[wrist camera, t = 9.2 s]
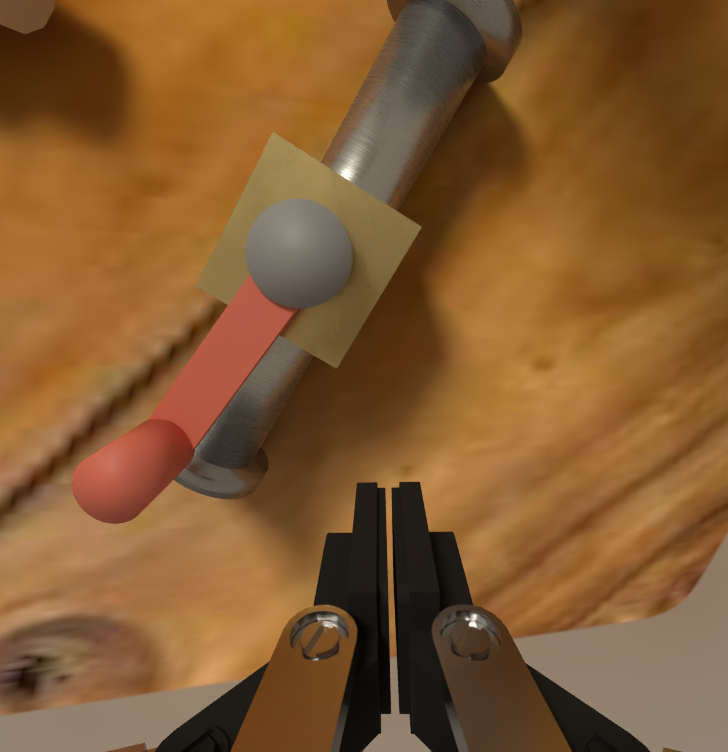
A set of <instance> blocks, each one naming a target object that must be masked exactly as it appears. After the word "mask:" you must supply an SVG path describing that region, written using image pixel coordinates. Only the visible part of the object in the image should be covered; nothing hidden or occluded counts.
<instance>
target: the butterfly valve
mask: <svg viewBox="0 0 728 752" xmlns="http://www.w3.org/2000/svg"><path fill="white" fill-rule="evenodd" d="M55 4H56V0H0V25H2V26H5V27H7V28H10V29H12V30H15V31H18V32H20V33H23V34H27V33H30V32H33V31H36V30H39V29H41V28H44V27H45V25H46V23H47V21H48V19H49V18H50V16H51V14H52V12H53V11H54V9H55Z"/></svg>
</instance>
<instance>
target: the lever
mask: <svg viewBox="0 0 728 752" xmlns="http://www.w3.org/2000/svg"><path fill="white" fill-rule="evenodd" d="M246 262H247V266H248V270H249V273H250V275H249V276H248V277H247V279H246V280H245V282H244V283H243V285H242V286H241V287H240V289H239V290H238V292H237V293H236V295H235V296H234V298H233V299H232V300H231V302H230V303H229V305H228V306H227V308H226V309H225V310H224V312H223V313H222V315H221V316H220V318H219V319H218V320H217V322H216V323H215V325H214V326H213V328H212V329H211V331H210V332H209V333H208V335H207V336H206V338H205V339H204V341H203V342H202V343H201V345H200V346H199V348H198V349H197V351H196V352H195V354H194V355H193V356H192V358H191V359H190V361H189V362H188V364H187V365H186V366H185V368H184V369H183V371H182V372H181V374H180V375H179V376H178V378H177V379H176V381H175V382H174V384H173V385H172V387H171V388H170V389H169V391H168V392H167V394H166V395H165V397H164V398H163V399H162V401H161V402H160V404H159V405H158V407H157V408H156V410H155V411H154V412H153V414H152V415H151V417H150V418H149V419H148V420H147V421H145V422H144V423H142V424H140V425H139V426H137V427H136V428H134V429H132V430H131V431H129V432H128V433H126V434H124V435H123V436H121V437H120V438H118V439H117V440H115V441H113V442H112V443H110V444H109V445H107V446H105V447H104V448H102V449H101V450H99V451H97V452H96V453H94V454H93V455H91V456H89V457H88V458H86V459H85V460H83V461H82V462H81V463H80V464H79V465H78V466H77V468H76V470H75V472H74V474H73V478H72V490H73V494H74V497H75V499H76V501H77V503H78V504H79V505H80V507H81V508H82V509H83V510H84V511H85V512H86V513H87V514H89V515H90V516H91V517H93V518H95V519H97V520H99V521H102V522H106V523H113V524H117V523H124V522H127V521H130V520H132V519H134V518H135V517H136V516H138V515H139V514H140V513H141V512H142V511H143V510H144V509H145V508H146V507H147V506H148V505H149V504H150V503H151V502H152V501H153V500H154V499H155V498H156V497H157V496H158V495H159V494H160V493H161V492H162V491H163V490H164V489H165V488H166V487H167V486H168V485H169V484H170V483H171V482H172V481H173V480H174V479H175V478H176V477H177V476H178V475H179V474H180V473H181V472H182V471H183V470H184V469H185V468H186V467H187V466H188V465H189V463H190V462H191V461H192V459H193V457H194V454H195V449H196V448H197V446H198V445H199V444H200V442H201V441H202V440H203V438H204V437H205V436H206V434H207V433H208V431H209V430H210V429H211V427H212V426H213V425H214V423H215V422H216V421H217V419H218V418H219V417H220V415H221V414H222V412H223V411H224V410H225V408H226V407H227V406H228V404H229V403H230V402H231V400H232V399H233V398H234V396H235V395H236V393H237V392H238V391H239V389H240V388H241V387H242V385H243V384H244V383H245V381H246V380H247V378H248V377H249V376H250V374H251V373H252V372H253V370H254V369H255V368H256V366H257V365H258V364H259V362H260V361H261V359H262V358H263V357H264V355H265V354H266V353H267V351H268V350H269V349H270V347H271V346H272V345H273V343H274V342H275V340H276V339H277V338H278V336H279V335H280V334H281V332H282V331H283V330H284V328H285V327H286V326H287V324H288V323H289V321H290V320H291V319H292V317H293V316H294V315H295V313H296V312H297V311H298V309H302V308H310V307H314V306H317V305H320V304H322V303H324V302H326V301H328V300H330V299H331V298H333V297H334V296H335V295H336V294H337V293H339V291H340V290H341V289H342V288H343V287H344V285H345V284H346V282H347V280H348V278H349V276H350V273H351V269H352V264H353V249H352V244H351V240H350V237H349V235H348V233H347V231H346V229H345V228H344V226H343V224H342V223H341V221H340V220H339V219H338V218H337V217H336V215H335V214H333V213H332V212H331V211H330V210H329V209H327V208H326V207H325V206H323V205H321V204H319V203H317V202H314V201H311V200H307V199H298V198H296V199H287V200H283V201H280V202H277V203H275V204H273V205H271V206H270V207H268V208H267V209H265V210H264V211H263V212H262V213H261V214H260V215H259V216H258V217H257V219H256V220H255V221H254V223H253V225H252V227H251V229H250V231H249V234H248V237H247V242H246Z"/></svg>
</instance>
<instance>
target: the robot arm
mask: <svg viewBox="0 0 728 752" xmlns="http://www.w3.org/2000/svg"><path fill="white" fill-rule="evenodd" d="M392 532H393V579H394V603H395V625H396V647H397V669H398V692H399V711H400V714H410V727H411V734H415V735H416V736H417V737H418V738H419V739H420V740H421V741H422V742H423V743H424V744H425V745H426V746H427V747H428V748H429V749H430V750H431V752H650V751H649V750H648V749H647V747H646V746H645V745H643V744H642V743H641V742H640V741H639V740H637V739H636V738H635V737H634V736H632V735H631V734H630V733H628V732H627V731H625V730H624V729H623V728H621V727H619V726H618V725H617V724H615V723H614V722H612V721H611V720H609V719H608V718H606V717H605V716H603V715H602V714H600V713H599V712H597V711H596V710H594V709H593V708H591V707H590V706H588V705H587V704H585V703H584V702H582V701H581V700H579V699H578V698H576V697H575V696H574V695H572V694H571V693H569V692H567V691H566V690H564V689H563V688H562V687H560V686H559V685H557V684H556V683H554V682H553V681H551V680H550V679H548V678H547V677H545V676H544V675H542V674H541V673H539V672H538V671H536V670H535V669H533V668H532V667H530V666H529V665H528V664H526V663H525V662H524V660H523V658H522V656H521V654H520V652H519V650H518V648H517V646H516V645H515V643H514V641H513V639H512V637H511V635H510V633H509V631H508V629H507V628H506V627H505V625H504V624H503V622H502V621H501V620H500V619H499V618H498V617H496V616H495V615H494V614H493V613H491V612H489V611H487V610H485V609H483V608H481V607H477V606H473V602H472V599H471V595H470V591H469V588H468V584H467V580H466V576H465V573H464V569H463V565H462V562H461V558H460V554H459V550H458V547H457V543H456V539H455V536H454V533H453V532H429V530H428V525H427V519H426V513H425V508H424V502H423V497H422V491H421V486H420V482H399V488H392ZM381 714H391V692H390V650H389V609H388V570H387V535H386V499H385V488H377V482H374V483H357V489H356V500H355V510H354V521H353V531H352V533H328V534H327V536H326V541H325V546H324V552H323V557H322V562H321V568H320V573H319V579H318V584H317V590H316V595H315V600H314V606H313V607H309V608H306V609H304V610H302V611H300V612H299V613H297V614H296V615H295V616H294V617H292V618H291V619H290V620H289V622H288V623H287V625H286V626H285V628H284V629H283V632H282V634H281V636H280V639H279V641H278V643H277V646H276V648H275V650H274V652H273V655H272V657H271V659H270V661H269V662H268V663H267V664H265V665H264V666H263V667H261V668H260V669H258V670H257V671H256V672H254V673H253V674H252V675H250V676H249V677H247V678H246V679H245V680H243V681H242V682H241V683H239V684H238V685H236V686H235V687H234V688H232V689H231V690H229V691H228V692H227V693H225V694H224V695H223V696H221V697H220V698H219V699H217V700H216V701H214V702H213V703H212V704H210V705H209V706H207V707H206V708H205V709H203V710H202V711H201V712H199V713H198V714H197V715H195V716H194V717H192V718H191V719H190V720H188V721H187V722H185V723H184V724H183V725H181V726H180V727H179V728H177V729H176V730H175V731H173V732H172V733H171V734H170V735H169V736H168V737H167V738H166V739H164V740H163V741H162V742H161V744H160V745H159V746H158V748H153V749H149V750H147V749H146V745H145V743H142V744H138V745H133V746H129V747H125V748H120V749H116V750H112V751H108V752H363V750H364V749H365V748H366V746H367V745H368V744H369V743H370V742H371V741H372V740H373V739H374V738H375V737H376V736H377V735H378V734H380V733H381ZM663 752H681V751H676V750H672V749H668V748H663Z"/></svg>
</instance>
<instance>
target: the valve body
mask: <svg viewBox="0 0 728 752" xmlns="http://www.w3.org/2000/svg"><path fill="white" fill-rule="evenodd" d="M387 3H388V7H389V10H390V13H391V15H392V17H393V20H394V21H395V24H394V26H393V27H392V29H391V31H390V33H389V35H388V37H387V39H386V41H385V43H384V44H383V46H382V48H381V50H380V52H379V54H378V56H377V58H376V60H375V61H374V63H373V65H372V67H371V69H370V71H369V73H368V75H367V77H366V78H365V80H364V82H363V84H362V86H361V88H360V90H359V92H358V94H357V95H356V97H355V99H354V101H353V103H352V105H351V107H350V109H349V111H348V112H347V114H346V116H345V118H344V120H343V122H342V124H341V126H340V128H339V129H338V131H337V133H336V135H335V137H334V139H333V141H332V143H331V145H330V146H329V148H328V150H327V152H326V154H325V156H324V158H323V160H322V162H319V161H317V160H316V159H314V158H313V157H311V156H310V155H308V154H306V153H305V152H303V151H302V150H300V149H299V148H297V147H295V146H294V145H292V144H291V143H289V142H288V141H286V140H284V139H283V138H281V137H280V136H278V135H277V134H275V133H272V135H271V137H270V139H269V141H268V143H267V145H266V147H265V149H264V151H263V153H262V155H261V157H260V159H259V161H258V163H257V165H256V167H255V169H254V171H253V173H252V175H251V177H250V179H249V181H248V183H247V185H246V187H245V189H244V191H243V193H242V195H241V197H240V199H239V201H238V203H237V205H236V207H235V209H234V211H233V213H232V215H231V217H230V219H229V221H228V223H227V225H226V227H225V229H224V231H223V233H222V235H221V237H220V239H219V241H218V243H217V245H216V247H215V249H214V251H213V253H212V255H211V257H210V259H209V261H208V263H207V265H206V267H205V269H204V271H203V273H202V275H201V277H200V279H199V282H198V284H197V286H196V287H198V288H200V289H201V290H203V291H205V292H207V293H208V294H210V295H212V296H213V297H215V298H217V299H218V300H220V301H222V302H224V303H225V304H227V305H229V303H230V302H231V300H232V299H233V298H234V296H235V295H236V293H237V292H238V290H239V289H240V287H241V286H242V285H243V283H244V282H245V280H246V279H247V277H248V276H249V275H250V273H249V270H248V266H247V262H246V242H247V237H248V234H249V231H250V229H251V227H252V225H253V223H254V221H255V220H256V219H257V217H258V216H259V215H260V214H261V213H262V212H263V211H264V210H265V209H267V208H268V207H270V206H271V205H273V204H275V203H277V202H280V201H283V200H287V199H296V198H298V199H307V200H311V201H314V202H317V203H319V204H321V205H323V206H325V207H326V208H327V209H329V210H330V211H331V212H332V213H333V214H335V215H336V217H337V218H338V219H339V220H340V221H341V223H342V224H343V226H344V228H345V229H346V231H347V233H348V235H349V237H350V240H351V244H352V249H353V264H352V269H351V273H350V276H349V278H348V280H347V282H346V284H345V285H344V287H343V288H342V289H341V290H340V291H339V293H337V294H336V295H335V296H334V297H333V298H331V299H330V300H328V301H326V302H324V303H322V304H320V305H317V306H314V307H310V308H302V309H298V311H297V312H296V313H295V315H294V316H293V317H292V319H291V320H290V321H289V323H288V324H287V326H286V327H285V328H284V330H283V331H282V332H281V334H280V335H279V336H278V338H277V339H276V340H275V342H274V343H273V345H272V346H271V347H270V349H269V350H268V351H267V353H266V354H265V355H264V357H263V358H262V359H261V361H260V362H259V364H258V365H257V366H256V368H255V369H254V370H253V372H252V373H251V374H250V376H249V377H248V378H247V380H246V381H245V383H244V384H243V385H242V387H241V388H240V389H239V391H238V392H237V393H236V395H235V396H234V398H233V399H232V400H231V402H230V403H229V404H228V406H227V407H226V408H225V410H224V411H223V412H222V414H221V415H220V417H219V418H218V419H217V421H216V422H215V423H214V425H213V426H212V427H211V429H210V430H209V431H208V433H207V434H206V436H205V437H204V438H203V440H202V441H201V442H200V444H199V445H198V446H197V448H196V449H195V454H194V457H193V459H192V461H191V462H190V463H189V465H188V466H187V467H186V468H185V469H184V470H183V471H182V472H181V473H180V474H179V475H178V476H177V477H176V478H175V479H174V480H175V481H176V482H178V483H179V484H181V485H183V486H184V487H186V488H188V489H190V490H192V491H195V492H197V493H200V494H203V495H206V496H210V497H215V498H221V499H238V498H243V497H246V496H248V495H250V494H252V493H253V492H254V491H255V490H256V488H257V487H258V485H259V484H260V482H261V480H262V479H263V477H264V475H265V473H266V472H267V469H268V465H269V464H268V459H267V456H266V454H265V452H264V450H263V449H262V447H261V446H262V444H263V442H264V441H265V439H266V437H267V435H268V434H269V432H270V430H271V429H272V427H273V425H274V423H275V422H276V420H277V418H278V416H279V415H280V413H281V411H282V410H283V408H284V406H285V404H286V403H287V401H288V399H289V398H290V396H291V394H292V392H293V391H294V389H295V387H296V386H297V384H298V382H299V380H300V379H301V377H302V375H303V374H304V372H305V370H306V368H307V367H308V365H309V363H310V361H311V360H312V358H313V356H315V357H317V358H319V359H320V360H322V361H324V362H326V363H327V364H329V365H331V366H332V367H334V368H336V369H337V368H338V366H339V364H340V363H341V361H342V359H343V358H344V356H345V354H346V353H347V351H348V349H349V348H350V346H351V344H352V343H353V341H354V339H355V338H356V336H357V334H358V333H359V331H360V329H361V328H362V326H363V324H364V323H365V321H366V319H367V318H368V316H369V314H370V313H371V311H372V309H373V308H374V306H375V304H376V303H377V301H378V299H379V298H380V296H381V294H382V293H383V291H384V289H385V288H386V286H387V284H388V283H389V281H390V279H391V278H392V276H393V274H394V273H395V271H396V269H397V268H398V266H399V264H400V263H401V261H402V259H403V258H404V256H405V254H406V253H407V251H408V249H409V248H410V246H411V244H412V243H413V241H414V239H415V238H416V236H417V234H418V233H419V231H420V229H421V226H420V225H418V224H417V223H415V222H413V221H412V220H410V219H409V218H407V217H406V216H404V215H402V214H401V213H399V212H398V210H399V209H400V207H401V205H402V203H403V202H404V200H405V198H406V197H407V195H408V193H409V191H410V190H411V188H412V186H413V185H414V183H415V181H416V179H417V178H418V176H419V174H420V172H421V171H422V169H423V167H424V166H425V164H426V162H427V160H428V159H429V157H430V155H431V154H432V152H433V150H434V148H435V147H436V145H437V143H438V142H439V140H440V138H441V136H442V135H443V133H444V131H445V130H446V128H447V126H448V124H449V123H450V121H451V119H452V117H453V116H454V114H455V112H456V111H457V109H458V107H459V105H460V104H461V102H462V100H463V99H464V97H465V95H466V93H467V92H468V90H469V88H470V87H471V85H472V83H473V82H474V83H489V82H493V81H495V80H497V79H498V78H499V77H501V75H502V74H503V73H504V71H505V69H506V68H507V66H508V64H509V63H510V61H511V59H512V57H513V56H514V54H515V52H516V51H517V49H518V47H519V45H520V43H521V39H522V23H521V19H520V15H519V12H518V10H517V7H516V5H515V3H514V1H513V0H387Z"/></svg>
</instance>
